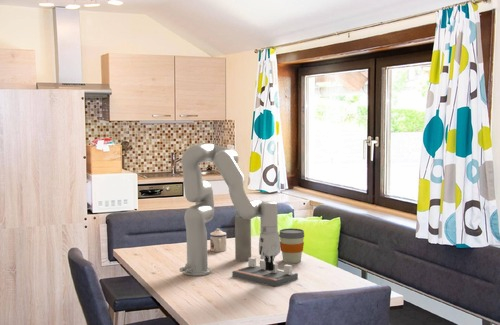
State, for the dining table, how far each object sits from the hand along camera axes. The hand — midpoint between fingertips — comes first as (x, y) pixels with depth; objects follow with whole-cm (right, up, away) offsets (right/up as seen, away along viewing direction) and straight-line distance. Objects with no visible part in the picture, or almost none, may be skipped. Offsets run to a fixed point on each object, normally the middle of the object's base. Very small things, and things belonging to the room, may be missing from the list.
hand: (269, 270), depth 282 cm
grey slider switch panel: (-2, -4, +4) cm, 6 cm away
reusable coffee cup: (+12, -1, +35) cm, 37 cm away
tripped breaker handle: (+2, -1, +2) cm, 3 cm away
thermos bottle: (-12, -1, +37) cm, 39 cm away
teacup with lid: (-25, 0, +57) cm, 62 cm away
